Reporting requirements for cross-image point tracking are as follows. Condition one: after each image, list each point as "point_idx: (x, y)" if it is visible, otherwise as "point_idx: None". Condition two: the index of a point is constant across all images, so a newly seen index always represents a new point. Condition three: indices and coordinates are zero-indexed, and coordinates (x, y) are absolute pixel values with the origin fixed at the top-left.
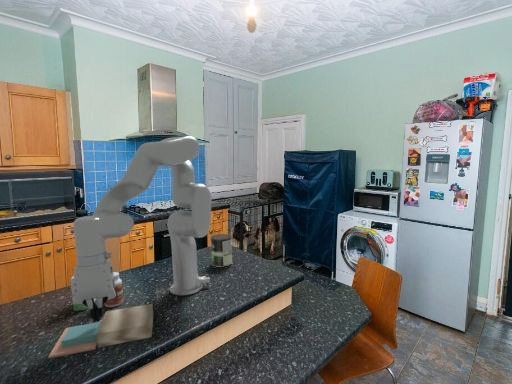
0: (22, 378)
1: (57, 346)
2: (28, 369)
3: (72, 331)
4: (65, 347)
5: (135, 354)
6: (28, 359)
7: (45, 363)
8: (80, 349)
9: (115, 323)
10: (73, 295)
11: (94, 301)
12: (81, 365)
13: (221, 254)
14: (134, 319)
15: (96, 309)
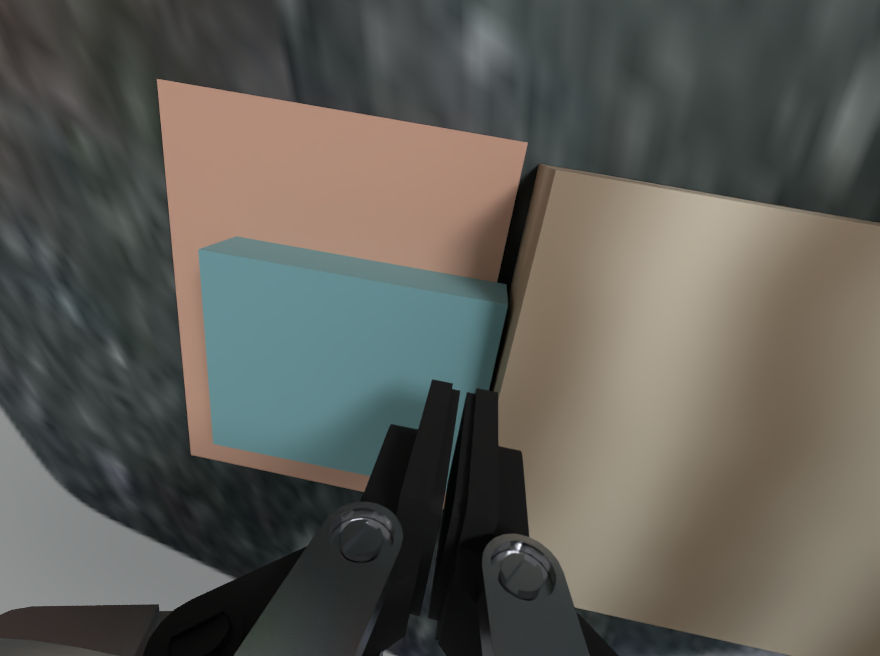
0: (145, 532)
1: (203, 375)
2: (137, 482)
3: (249, 340)
4: None
5: (651, 645)
6: (86, 393)
7: (202, 478)
8: (361, 487)
9: (615, 518)
10: None
11: (387, 589)
12: None
13: None
14: (801, 546)
15: (438, 627)
